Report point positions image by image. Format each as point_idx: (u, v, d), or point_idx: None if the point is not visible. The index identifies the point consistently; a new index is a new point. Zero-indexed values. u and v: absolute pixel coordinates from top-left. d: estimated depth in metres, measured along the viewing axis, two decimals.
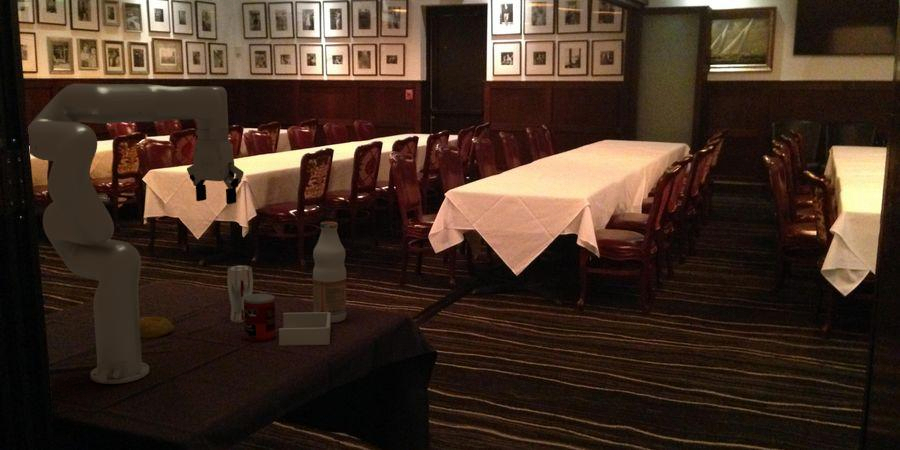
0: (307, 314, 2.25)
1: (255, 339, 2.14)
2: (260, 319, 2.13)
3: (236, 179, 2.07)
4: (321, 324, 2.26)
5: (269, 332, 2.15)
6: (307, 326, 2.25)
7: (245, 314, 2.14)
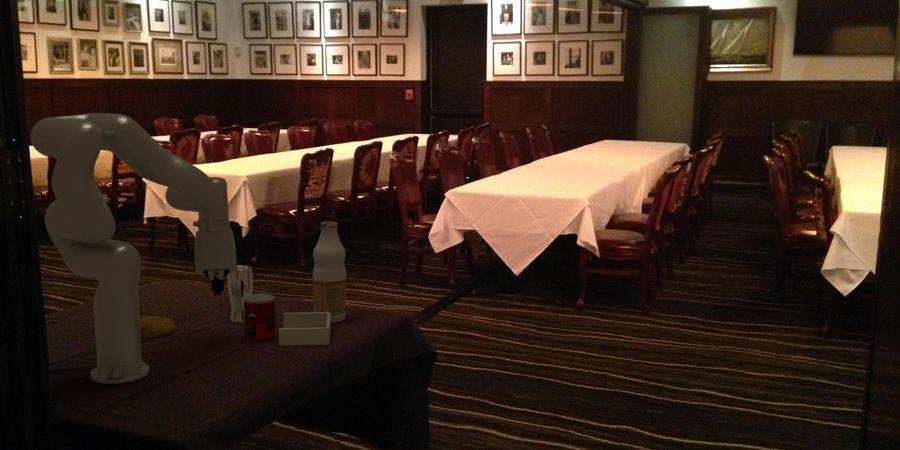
0: (307, 314, 2.25)
1: (255, 339, 2.14)
2: (260, 319, 2.13)
3: (228, 270, 2.13)
4: (321, 324, 2.26)
5: (269, 332, 2.15)
6: (307, 326, 2.25)
7: (245, 314, 2.14)
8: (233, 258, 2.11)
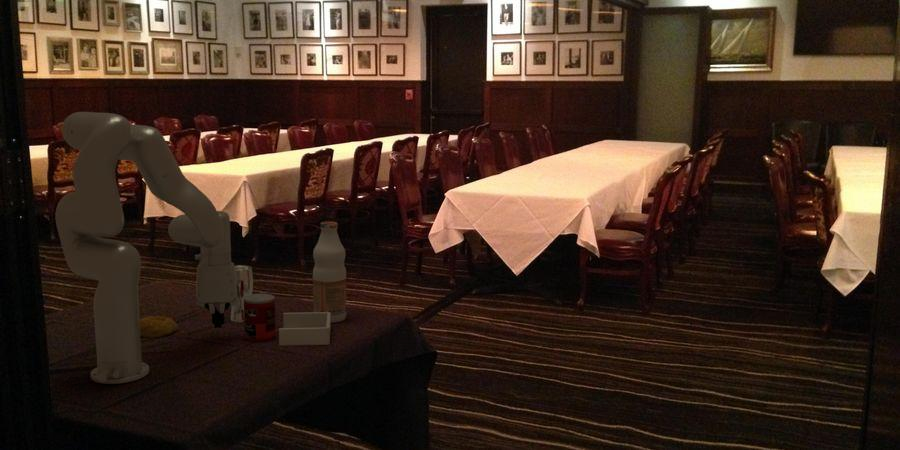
0: (307, 314, 2.25)
1: (255, 339, 2.14)
2: (260, 319, 2.13)
3: (228, 303, 2.14)
4: (321, 324, 2.26)
5: (269, 332, 2.15)
6: (307, 326, 2.25)
7: (245, 314, 2.14)
8: (234, 292, 2.12)
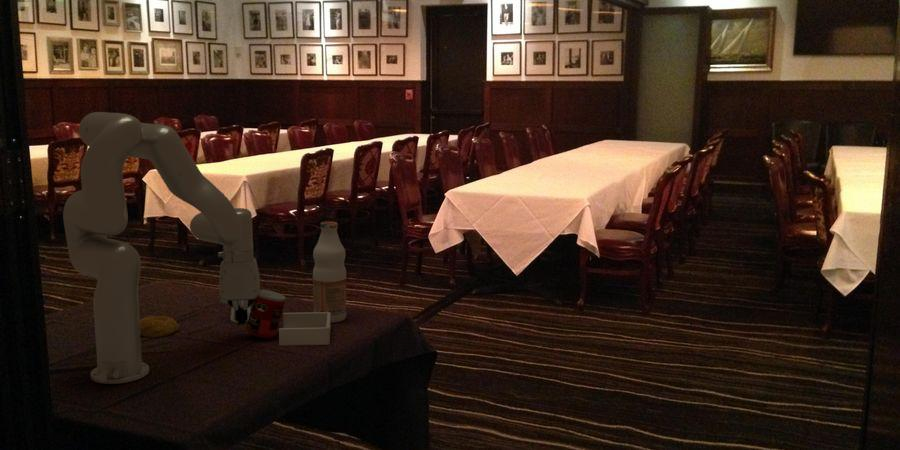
0: (307, 314, 2.25)
1: (256, 334, 2.14)
2: (267, 316, 2.13)
3: (252, 300, 2.16)
4: (321, 324, 2.26)
5: (272, 330, 2.15)
6: (307, 326, 2.25)
7: (253, 307, 2.14)
8: (257, 288, 2.13)
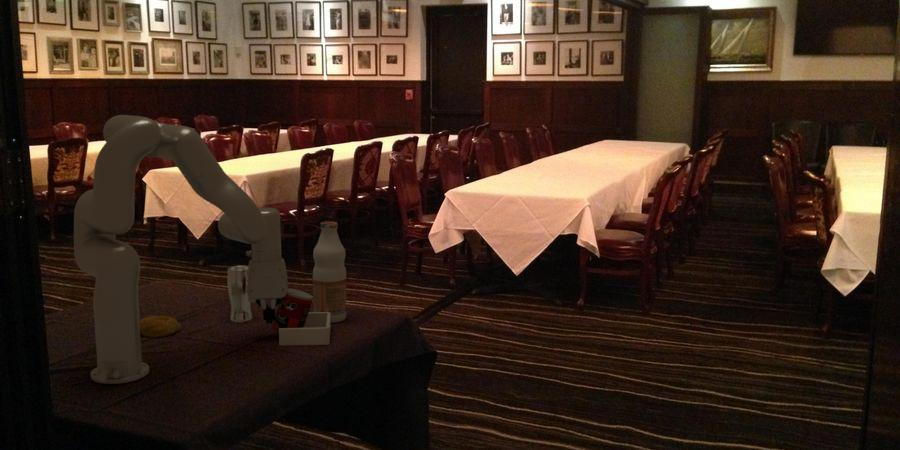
0: None
1: None
2: (296, 314, 2.15)
3: (279, 299, 2.16)
4: (321, 324, 2.26)
5: None
6: (307, 326, 2.25)
7: (282, 305, 2.15)
8: (285, 287, 2.14)
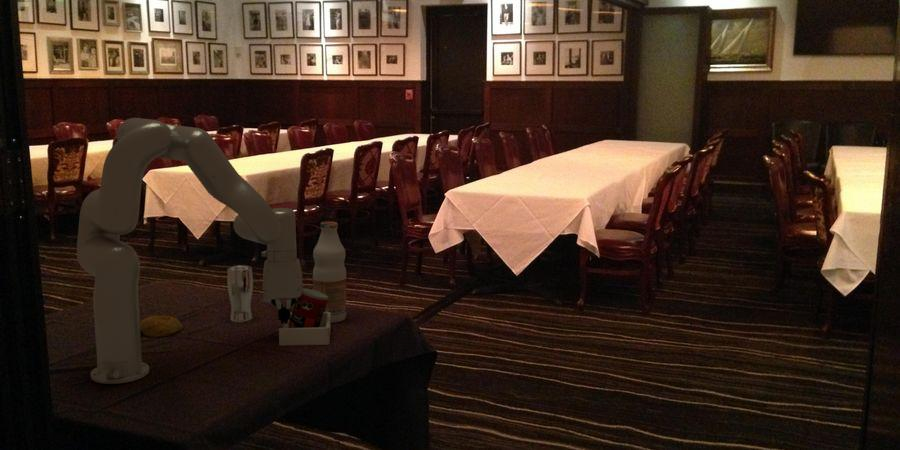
0: None
1: None
2: (312, 314, 2.15)
3: (294, 299, 2.17)
4: (321, 324, 2.26)
5: None
6: None
7: (298, 305, 2.16)
8: (301, 287, 2.15)
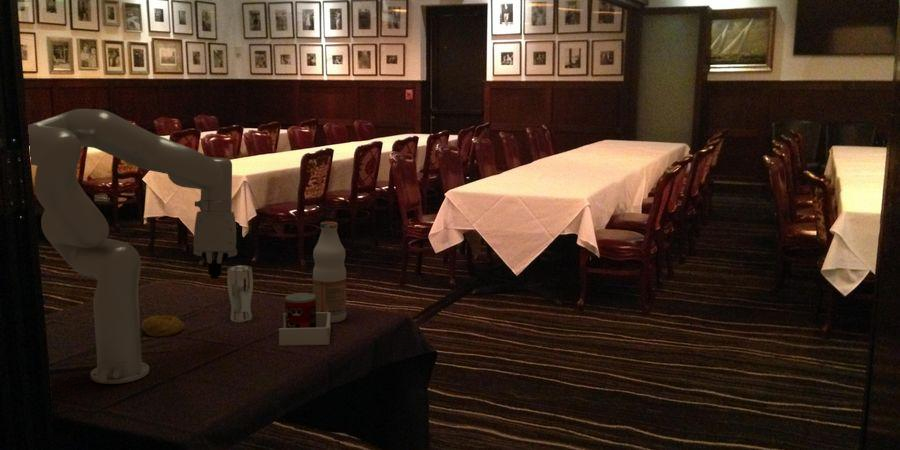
0: None
1: None
2: (304, 318, 2.15)
3: (226, 254, 2.08)
4: (321, 324, 2.26)
5: None
6: None
7: (288, 314, 2.15)
8: (233, 241, 2.06)
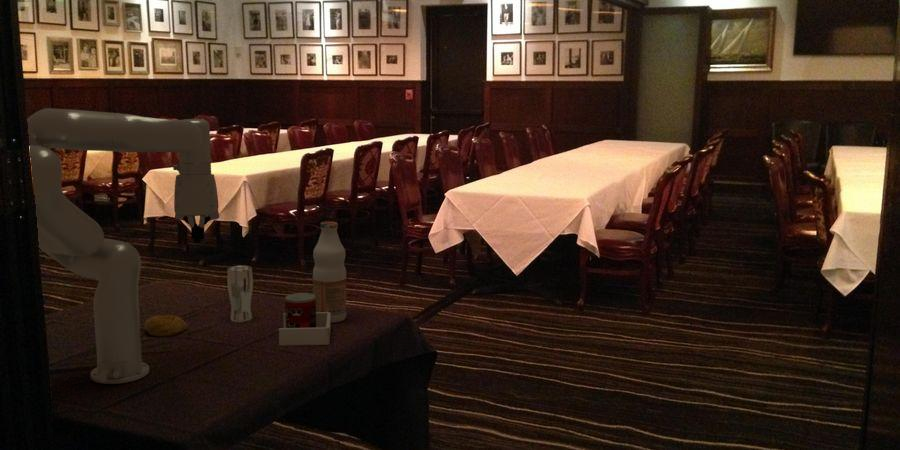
0: None
1: None
2: (304, 318, 2.15)
3: (209, 217, 2.04)
4: (321, 324, 2.26)
5: None
6: None
7: (288, 314, 2.15)
8: (214, 204, 2.02)
